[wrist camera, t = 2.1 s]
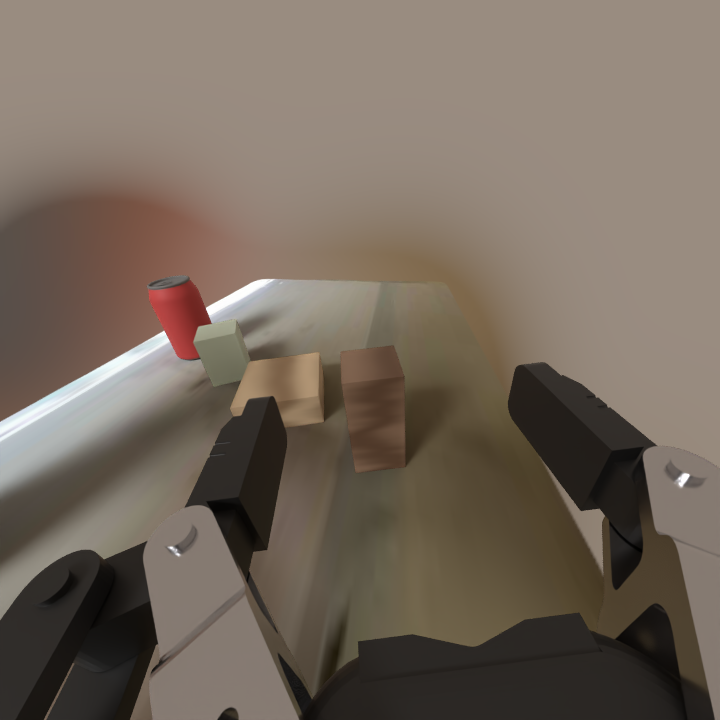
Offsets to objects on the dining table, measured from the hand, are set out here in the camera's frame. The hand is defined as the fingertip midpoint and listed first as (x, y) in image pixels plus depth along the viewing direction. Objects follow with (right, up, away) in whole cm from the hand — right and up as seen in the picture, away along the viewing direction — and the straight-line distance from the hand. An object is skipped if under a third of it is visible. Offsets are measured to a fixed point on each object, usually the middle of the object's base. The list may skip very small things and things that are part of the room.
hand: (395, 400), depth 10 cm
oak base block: (-10, -4, +26) cm, 28 cm away
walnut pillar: (0, -7, +18) cm, 19 cm away
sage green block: (-20, 0, +32) cm, 38 cm away
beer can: (-28, +3, +39) cm, 48 cm away
